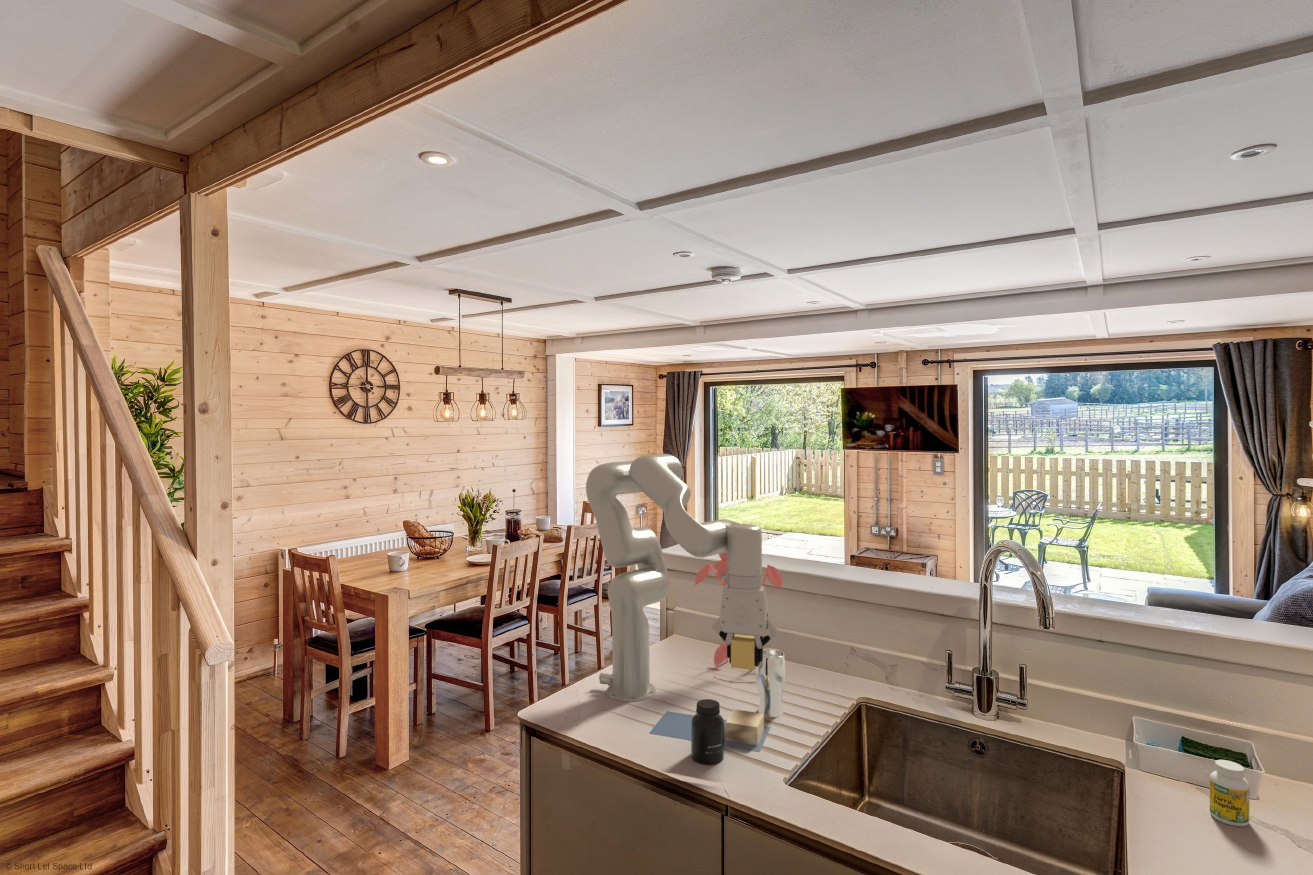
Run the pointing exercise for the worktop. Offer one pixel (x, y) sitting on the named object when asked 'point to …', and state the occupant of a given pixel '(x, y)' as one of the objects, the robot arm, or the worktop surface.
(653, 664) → the worktop surface
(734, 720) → the beech base block
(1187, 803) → the worktop surface
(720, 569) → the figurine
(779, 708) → the beer glass
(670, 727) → the board
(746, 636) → the mustard block
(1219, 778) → the supplement bottle
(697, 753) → the supplement bottle
